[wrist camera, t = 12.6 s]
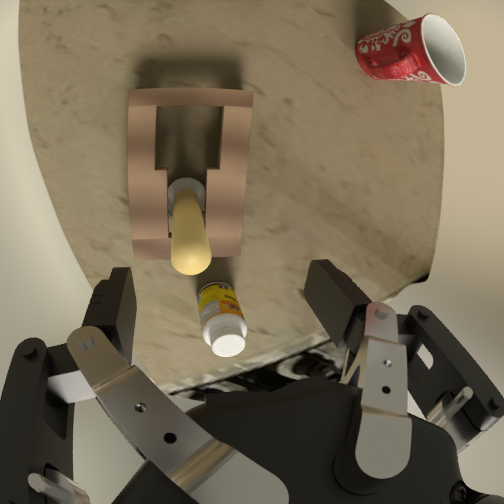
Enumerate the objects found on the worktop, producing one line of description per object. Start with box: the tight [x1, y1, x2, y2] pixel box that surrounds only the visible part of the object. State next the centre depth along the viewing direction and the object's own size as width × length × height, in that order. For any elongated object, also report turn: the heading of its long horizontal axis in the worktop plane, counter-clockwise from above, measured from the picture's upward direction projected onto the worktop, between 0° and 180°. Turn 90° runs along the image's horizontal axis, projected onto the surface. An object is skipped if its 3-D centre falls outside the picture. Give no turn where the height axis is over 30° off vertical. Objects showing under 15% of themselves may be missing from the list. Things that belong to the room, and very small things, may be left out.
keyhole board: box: [127, 88, 254, 260], centre depth 28 cm, size 18×12×5 cm, turn 175°
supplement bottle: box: [197, 282, 247, 357], centre depth 34 cm, size 6×6×10 cm
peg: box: [168, 177, 211, 275], centre depth 25 cm, size 5×5×15 cm
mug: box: [356, 13, 466, 86], centre depth 22 cm, size 13×9×14 cm
